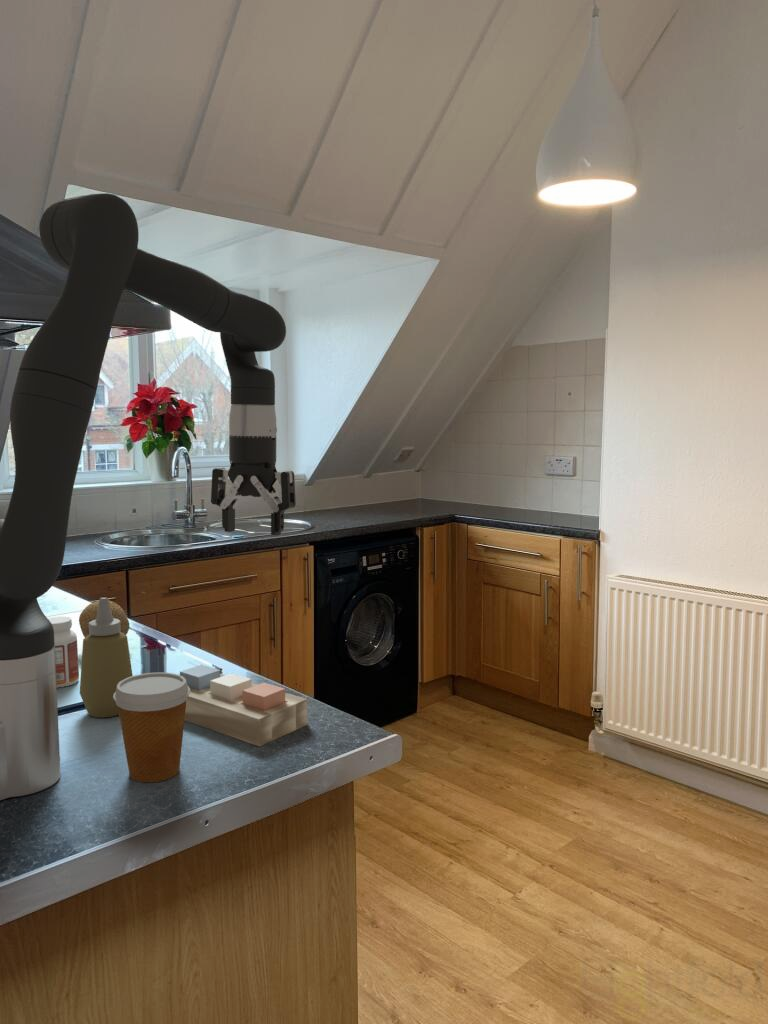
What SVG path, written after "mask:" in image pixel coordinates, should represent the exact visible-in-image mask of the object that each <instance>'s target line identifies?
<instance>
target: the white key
mask: <svg viewBox="0 0 768 1024" xmlns="http://www.w3.org/2000/svg"><path fill="white" fill-rule="evenodd" d="M224 675H225V676H222V677H219V678H217V679H214V680H211V681H210V694H211V695H214V696H217V697H220V698H223V699H226V700H229V701H231V700H234V699H236V698H239V697H242V696H243V695H242V690H245V689H248V688H250V687H252V683H253V679H252V678H251V677H250V678H249V677H245V676H244V675H240V674H235V673H229V674H224Z"/></svg>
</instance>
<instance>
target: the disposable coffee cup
mask: <svg viewBox="0 0 768 1024" xmlns="http://www.w3.org/2000/svg"><path fill="white" fill-rule="evenodd" d="M189 693H190V688H189V686H187V682H186V679H185V678H184V677H183V676H181V675H180V674H177V673H173V672H165V671H164V672H161V671H160V672H145V673H139V674H135V675H133V676H131V677H128V678H126V679H124V680H122V681H120V682H119V683H118V685H117V688H116V692H115V693H114V695H113V699H114V700H115V702H116V705H117V706H118V711H119V715H118V716H119V721H120V727H121V731H122V732H121V734H122V739H123V745H124V751H125V757H126V762H127V768H128V774H129V777H130V778H131V779H132V780H134V781H136V782H140V783H156V782H162V781H166V780H169V779H171V778H173V777H175V776H176V775H177V774H178V773H179V772H180V764H181V758H182V747H183V737H184V729H185V720H184V719H185V710H186V700H187V698H188V695H189Z"/></svg>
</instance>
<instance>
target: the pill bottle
mask: <svg viewBox="0 0 768 1024" xmlns="http://www.w3.org/2000/svg"><path fill="white" fill-rule="evenodd" d="M47 619H48V620H49V621H50V622H51V624H52V626H53V629H54V643H55V663H56V686H57V689H60V688H59V687H62V688H65V687H64V686H66V687H69V685H70V686H72V685H75V684H76V683H77V682H78V681H80V680H79V679H80V669H79V653H78V651H79V650H78V635H77V633H76V632H75V631H74V630H72V629H71V628H72V626H73V621H72V618H71V617H70V616H53V617H47Z"/></svg>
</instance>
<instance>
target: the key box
mask: <svg viewBox="0 0 768 1024" xmlns="http://www.w3.org/2000/svg"><path fill="white" fill-rule="evenodd" d="M225 675H226V674H222V673H220V677H222V676H225ZM256 685H258V684H256V683H253V682H252V687H253V686H256ZM184 721H186V722H189V723H192V724H195V725H196V726H197V725H198V726H200V727H203V728H206V729H208V730H212V731H214V732H217V733H220V734H223V735H225V736H228V737H232V738H235V739H237V740H241V742H242V741H243V742H245V743H248V744H251V745H254V746H257V747H261V746H264V745H266V744H268V743H271V742H273V741H275V740H277V739H279V738H282V737H283V736H285V735H288V734H290V733H292V732H294V731H297V730H299V729H302V728H303V727H306V726H308V698H304V697H302V696H298V695H294V694H291V693H288V692H285V703H284V704H281V705H279V706H276V707H274V708H271V709H269V710H266V711H261V710H258V709H255V708H252V707H248V706H245V705H243V696H242V697H239V698H236V699H234V700H231V701H229V700H226V699H223V698H220V697H217V696H214V695H211V694H210V687H208V688H205V689H202V690H199V691H198V690H195V689H192V688H190V693H189V695H188V698H187V700H186V710H185V719H184Z"/></svg>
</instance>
